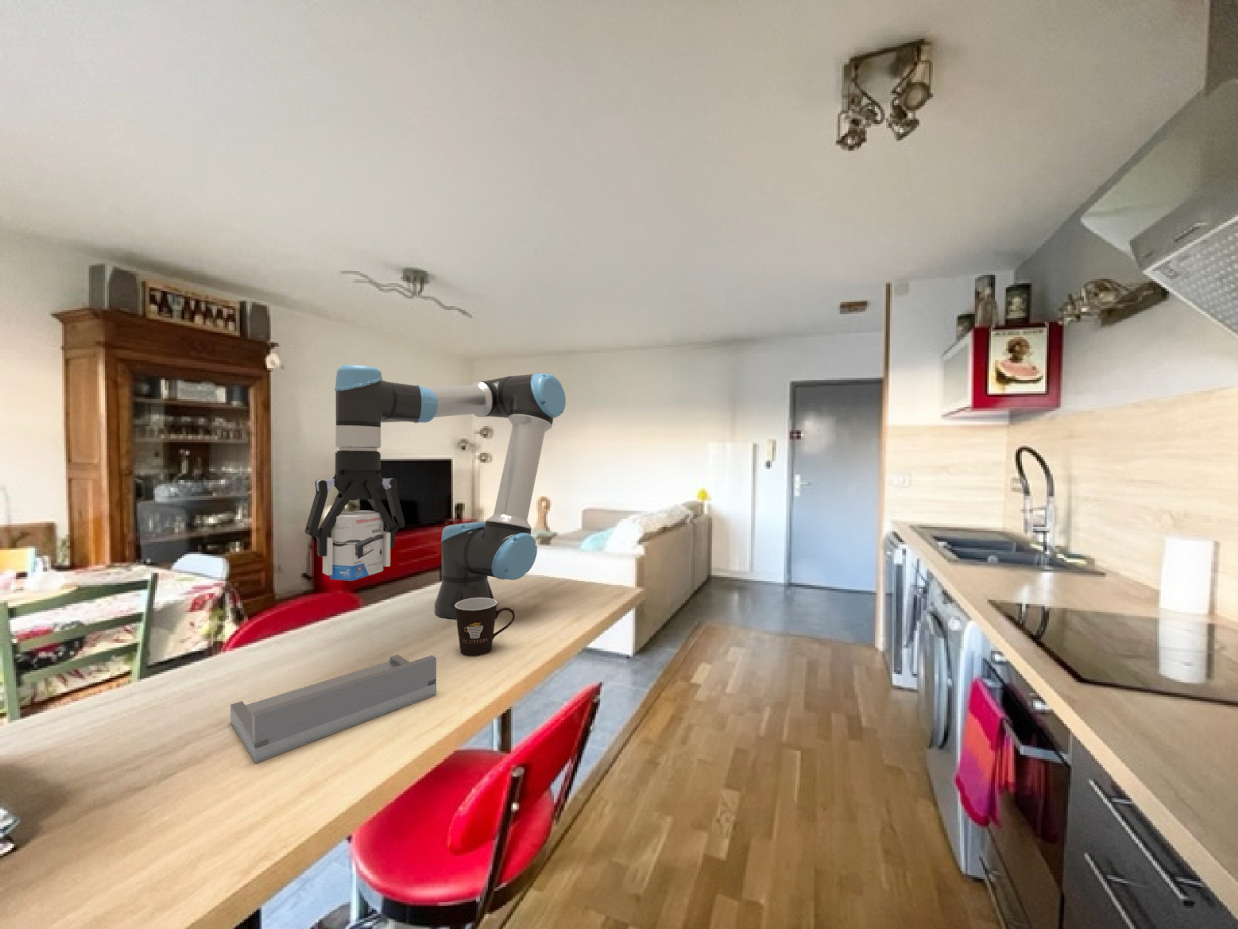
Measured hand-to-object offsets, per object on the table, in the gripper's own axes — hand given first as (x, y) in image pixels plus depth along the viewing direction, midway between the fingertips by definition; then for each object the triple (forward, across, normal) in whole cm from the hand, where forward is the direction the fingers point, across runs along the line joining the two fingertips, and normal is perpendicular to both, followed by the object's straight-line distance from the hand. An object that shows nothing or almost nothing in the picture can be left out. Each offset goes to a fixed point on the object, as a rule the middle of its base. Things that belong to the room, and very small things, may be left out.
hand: (357, 569), depth 93 cm
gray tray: (+20, +6, +10) cm, 24 cm away
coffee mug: (+20, -23, +7) cm, 31 cm away
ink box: (+1, 0, 0) cm, 1 cm away
